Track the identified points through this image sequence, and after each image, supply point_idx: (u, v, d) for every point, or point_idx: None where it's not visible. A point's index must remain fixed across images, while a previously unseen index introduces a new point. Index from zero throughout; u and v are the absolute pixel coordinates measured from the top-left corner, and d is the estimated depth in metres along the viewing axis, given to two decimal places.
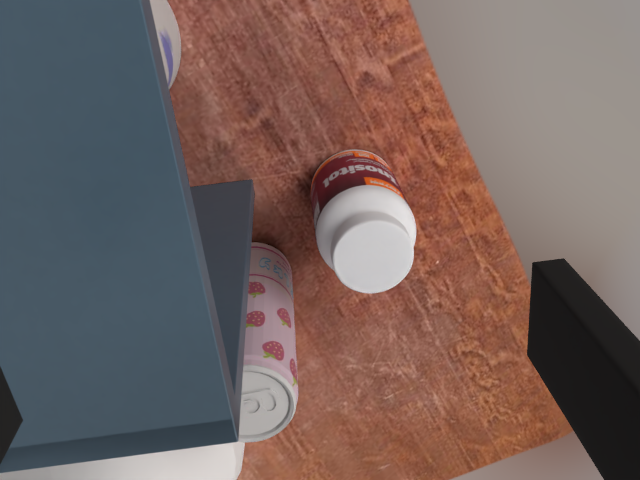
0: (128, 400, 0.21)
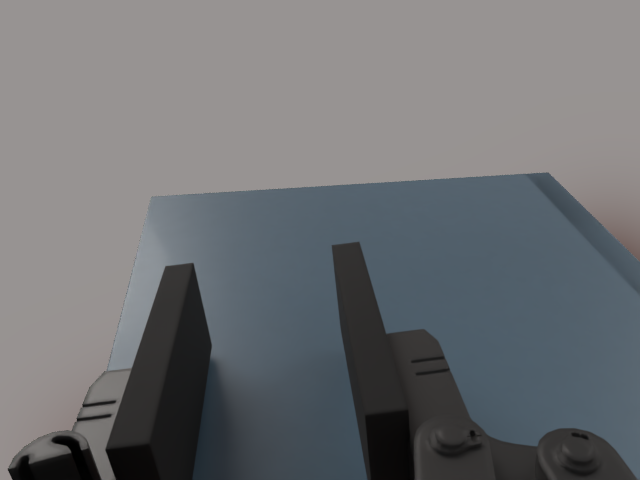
0: (524, 211, 0.24)
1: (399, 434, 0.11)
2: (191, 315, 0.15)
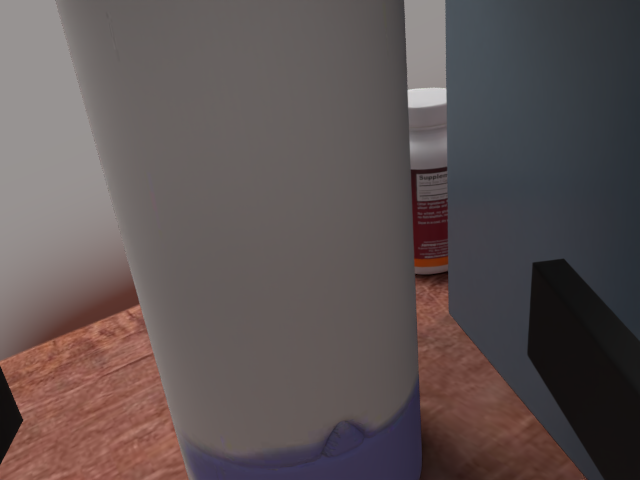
0: None
1: None
2: None
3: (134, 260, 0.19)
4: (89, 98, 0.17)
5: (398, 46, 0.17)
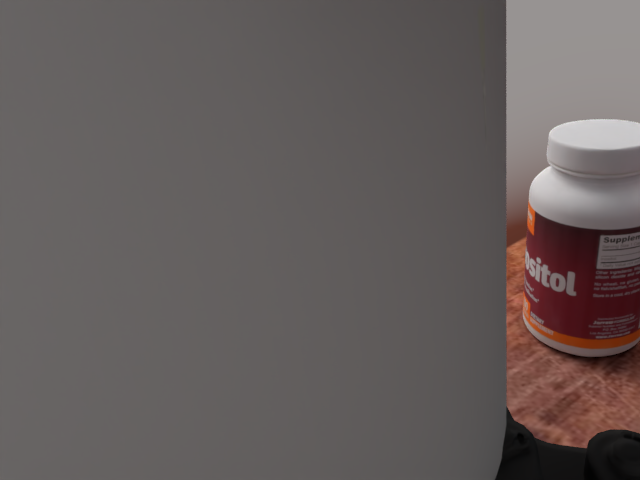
0: None
1: None
2: None
3: None
4: None
5: (502, 108, 0.07)
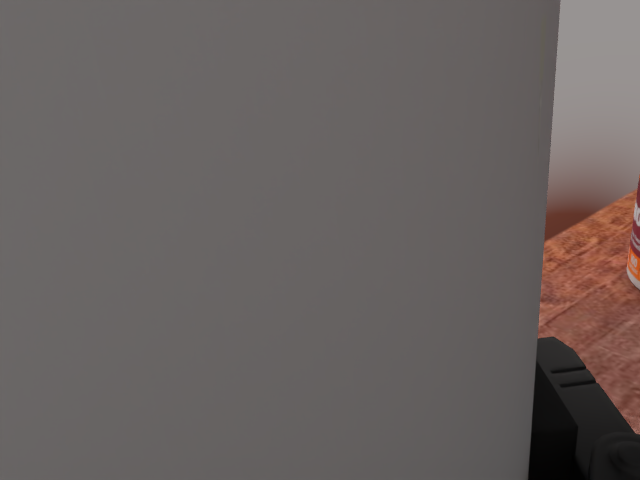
0: None
1: (565, 452, 0.10)
2: None
3: None
4: None
5: (551, 120, 0.07)
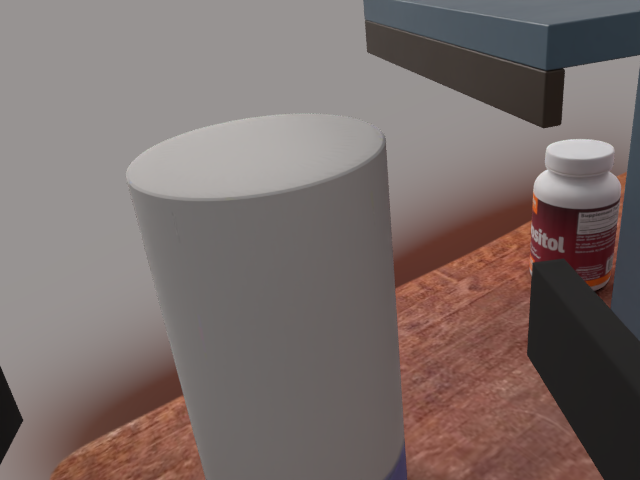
0: None
1: None
2: None
3: (182, 367, 0.24)
4: (153, 257, 0.22)
5: (383, 214, 0.23)
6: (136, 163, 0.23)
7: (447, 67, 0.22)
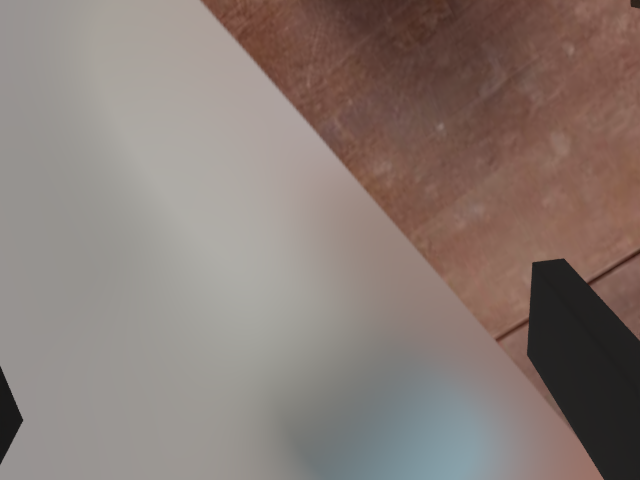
0: None
1: None
2: None
3: None
4: None
5: None
6: None
7: None
